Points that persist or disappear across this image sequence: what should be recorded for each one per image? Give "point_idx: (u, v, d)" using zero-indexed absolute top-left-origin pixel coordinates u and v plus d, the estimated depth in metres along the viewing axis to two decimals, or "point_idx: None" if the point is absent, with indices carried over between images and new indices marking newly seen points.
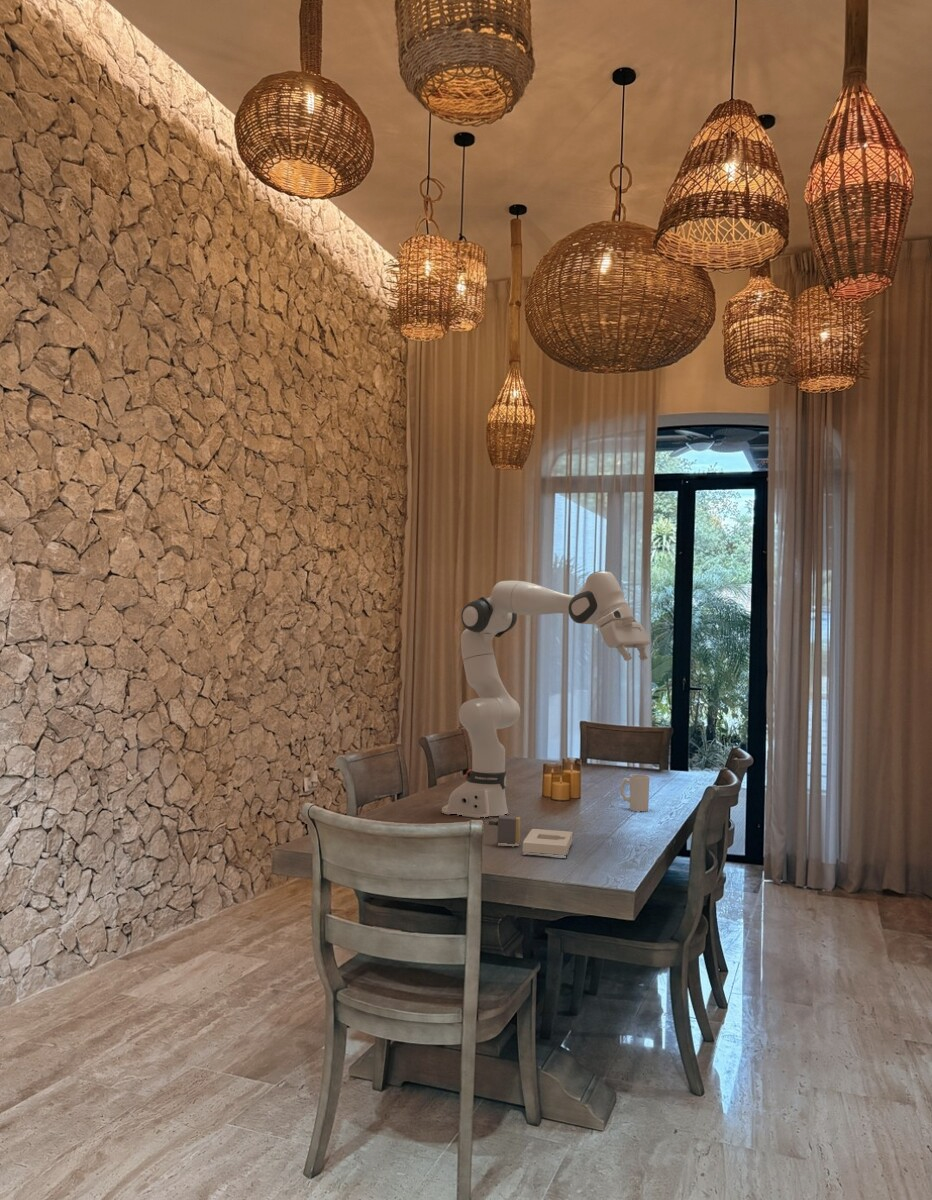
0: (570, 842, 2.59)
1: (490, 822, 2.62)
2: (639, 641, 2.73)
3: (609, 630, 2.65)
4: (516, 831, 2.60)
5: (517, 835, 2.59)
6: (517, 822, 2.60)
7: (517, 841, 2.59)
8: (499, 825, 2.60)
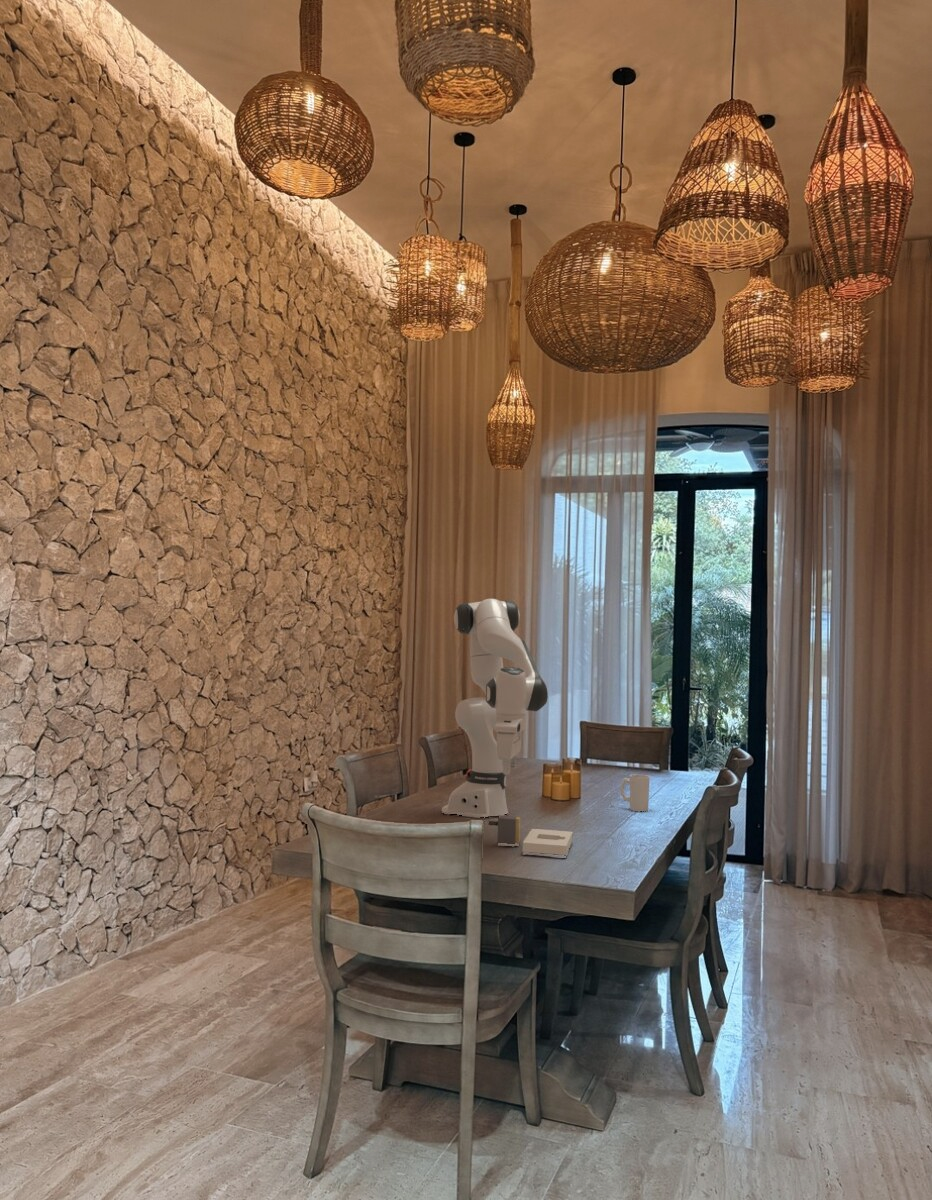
0: (570, 842, 2.59)
1: (490, 822, 2.62)
2: (517, 752, 2.64)
3: (506, 744, 2.52)
4: (516, 831, 2.60)
5: (517, 835, 2.59)
6: (517, 822, 2.60)
7: (517, 841, 2.59)
8: (499, 825, 2.60)
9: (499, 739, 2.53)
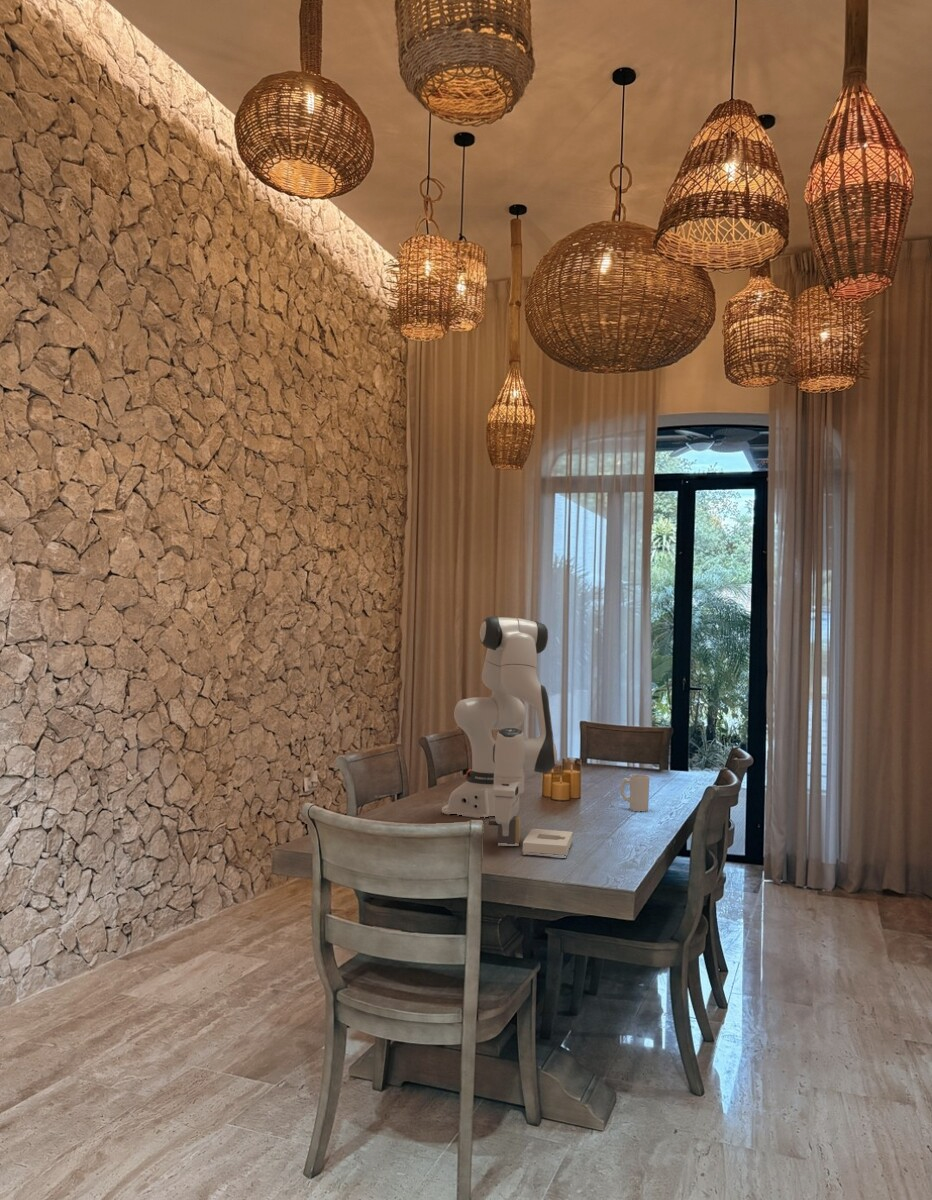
0: (570, 842, 2.59)
1: (490, 822, 2.62)
2: (515, 813, 2.64)
3: (504, 808, 2.52)
4: (516, 831, 2.60)
5: (517, 835, 2.59)
6: (517, 822, 2.60)
7: (517, 841, 2.59)
8: (499, 825, 2.60)
9: (497, 803, 2.52)
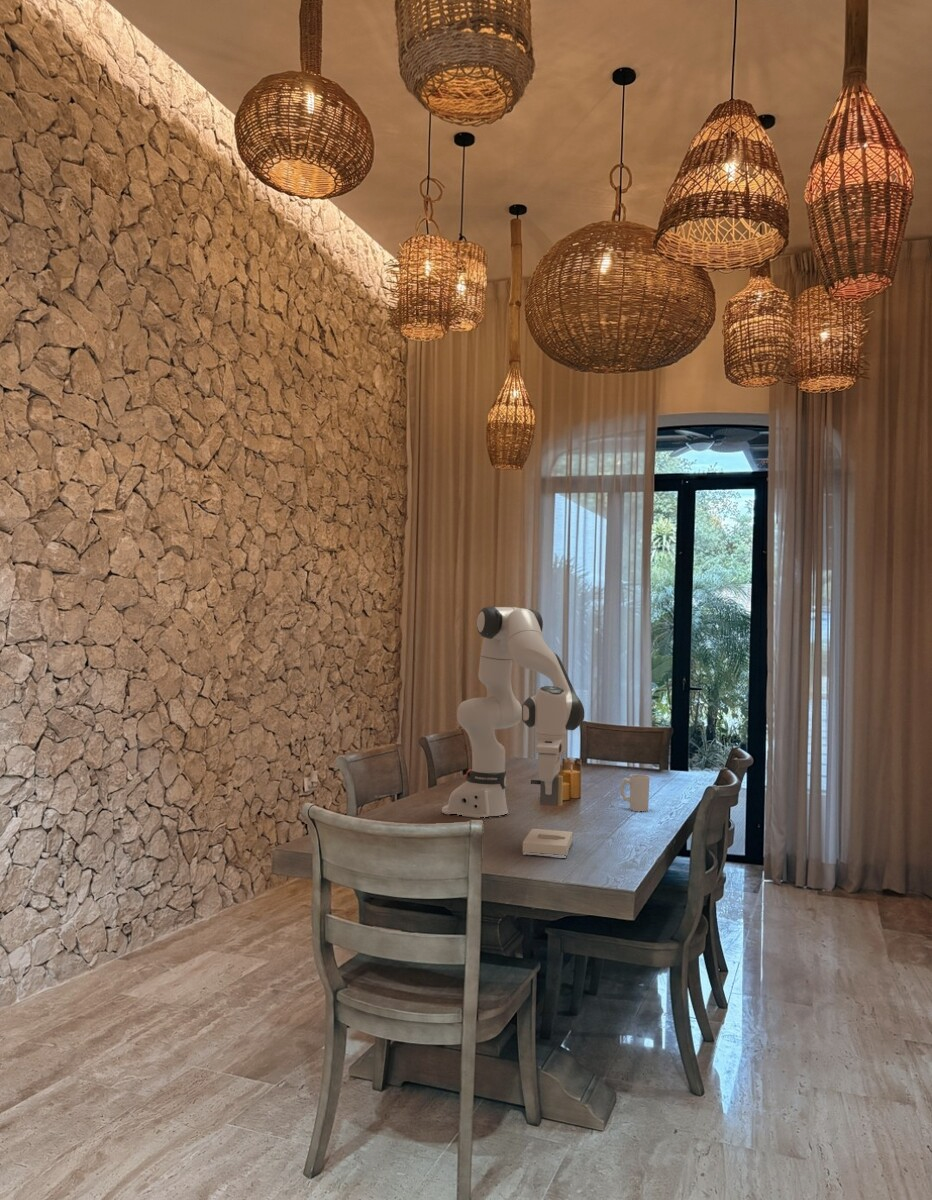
0: (570, 842, 2.59)
1: (532, 781, 2.59)
2: (557, 772, 2.61)
3: (548, 765, 2.48)
4: (559, 789, 2.56)
5: (560, 793, 2.56)
6: (560, 780, 2.56)
7: (560, 800, 2.56)
8: (542, 783, 2.56)
9: (541, 760, 2.49)
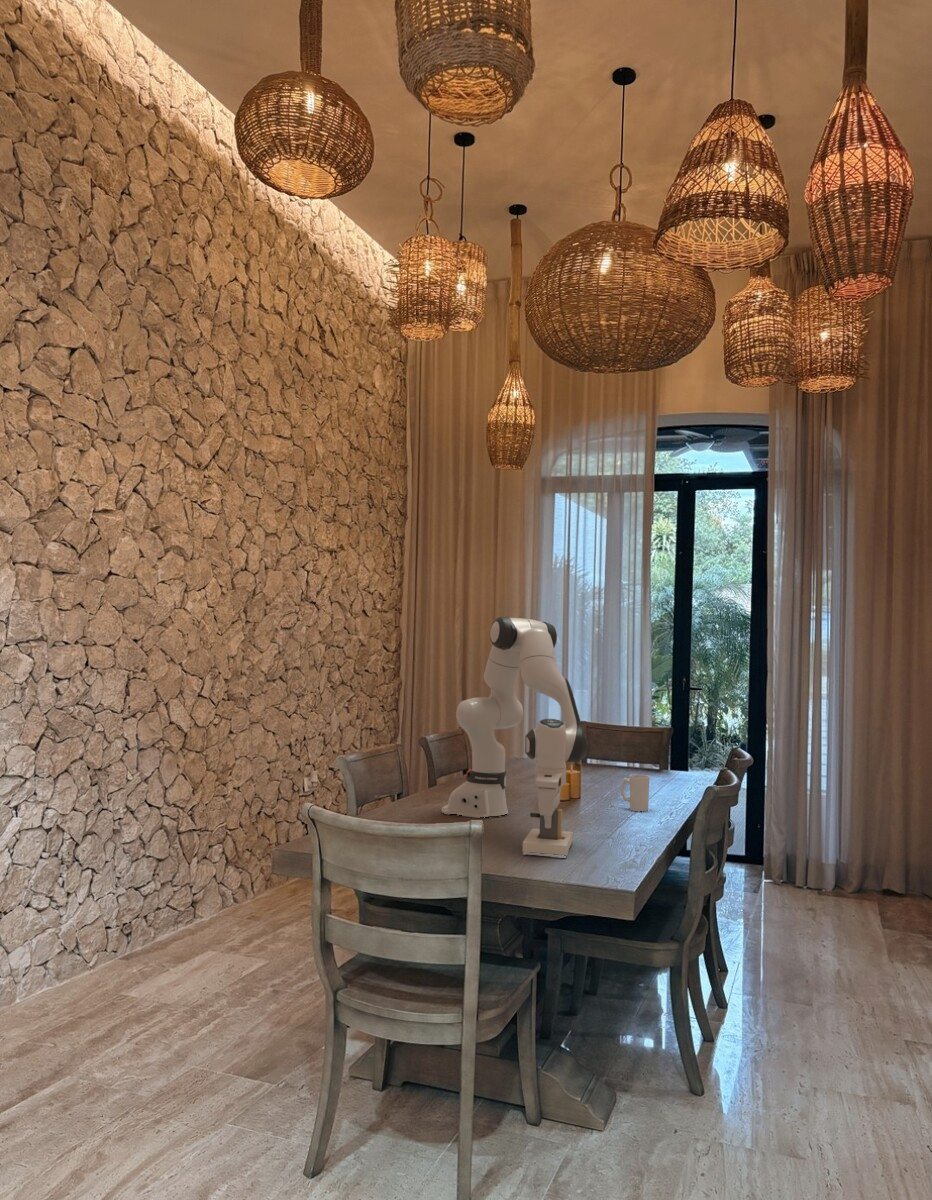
0: (570, 842, 2.59)
1: (532, 814, 2.58)
2: (557, 805, 2.60)
3: (548, 799, 2.48)
4: (558, 823, 2.56)
5: (559, 827, 2.56)
6: (559, 814, 2.56)
7: (559, 833, 2.56)
8: (541, 817, 2.56)
9: (540, 794, 2.49)
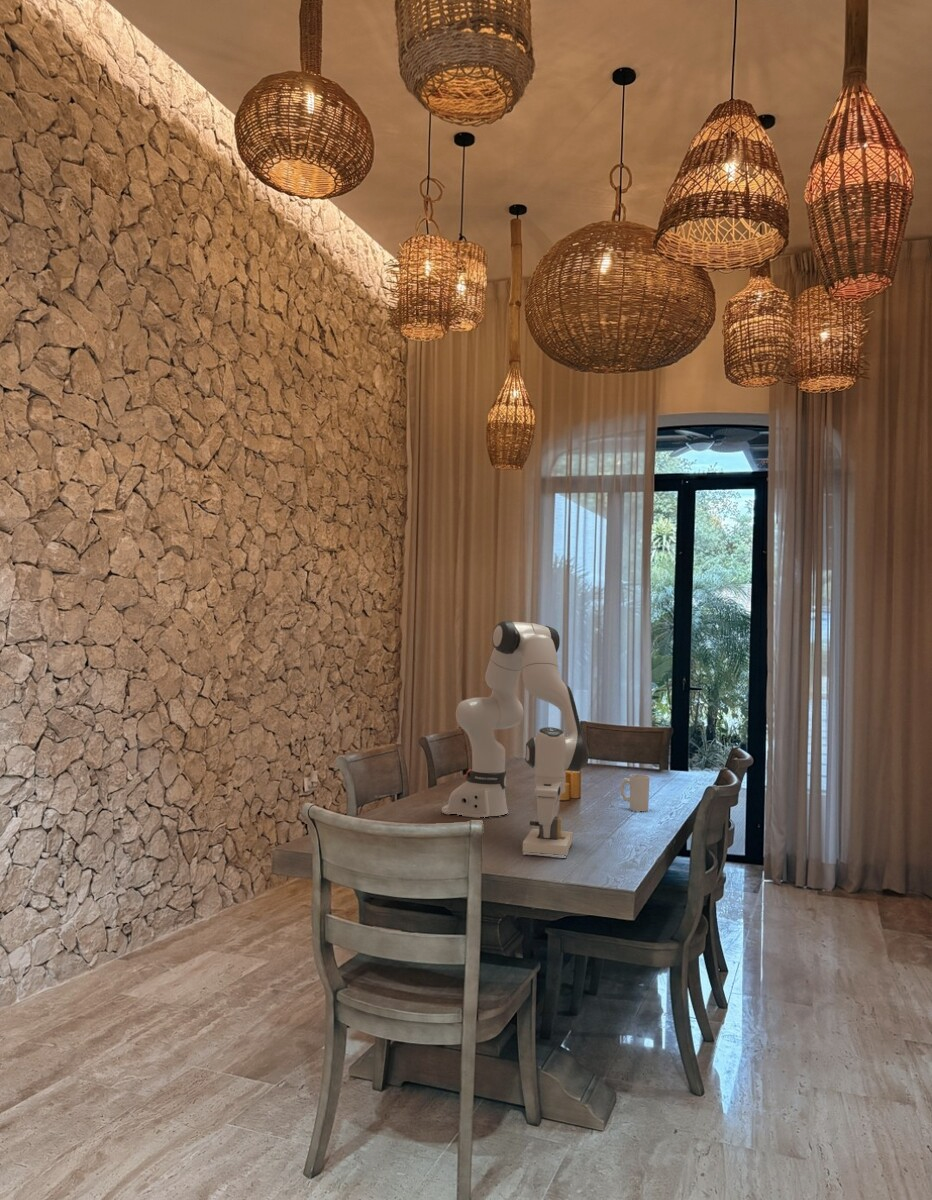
0: (570, 842, 2.59)
1: (531, 822, 2.58)
2: (556, 814, 2.60)
3: (547, 809, 2.48)
4: (558, 831, 2.56)
5: (559, 835, 2.56)
6: (559, 822, 2.56)
7: None
8: (541, 825, 2.56)
9: (539, 803, 2.49)
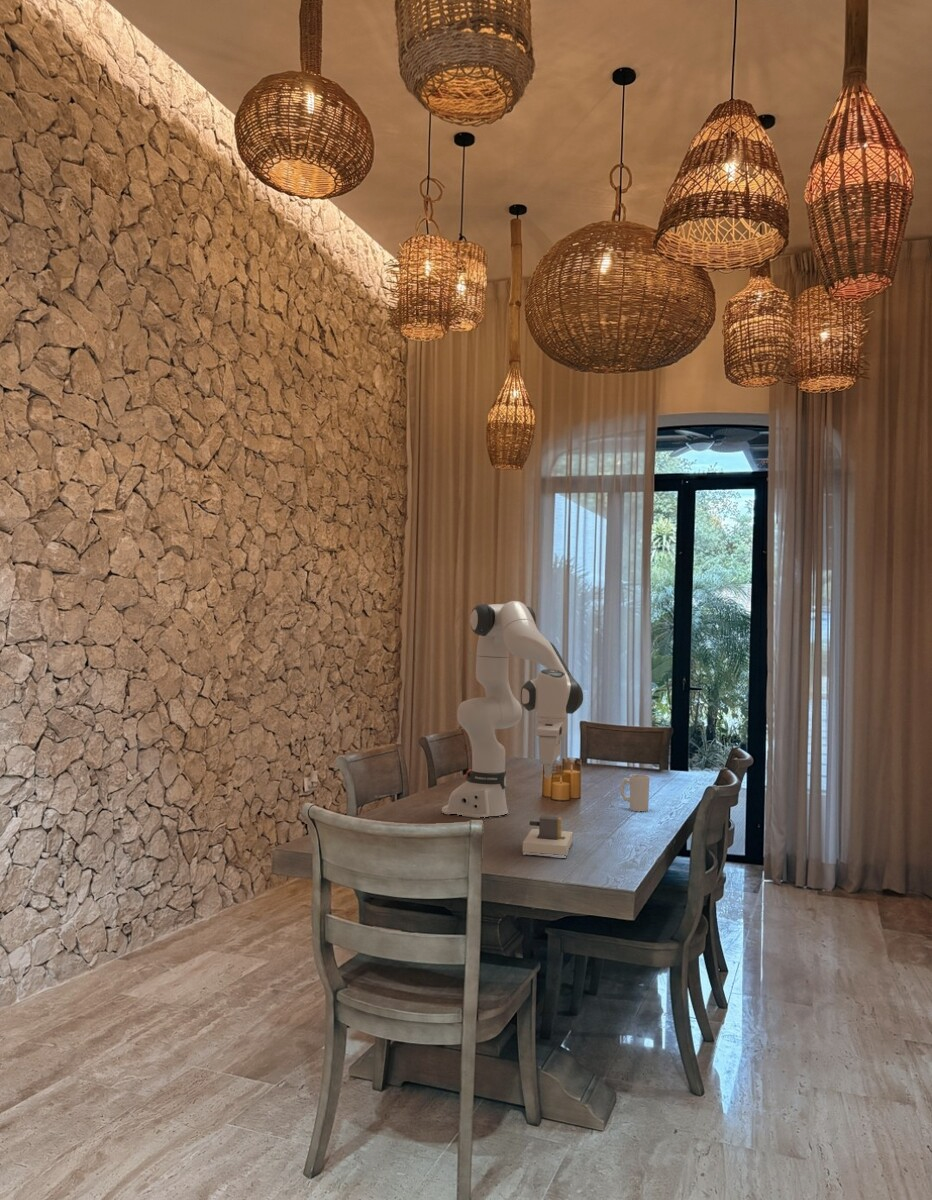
0: (570, 842, 2.59)
1: (531, 822, 2.58)
2: (557, 756, 2.61)
3: (549, 747, 2.49)
4: (558, 831, 2.56)
5: (559, 835, 2.56)
6: (559, 822, 2.56)
7: None
8: (541, 825, 2.56)
9: (541, 743, 2.49)
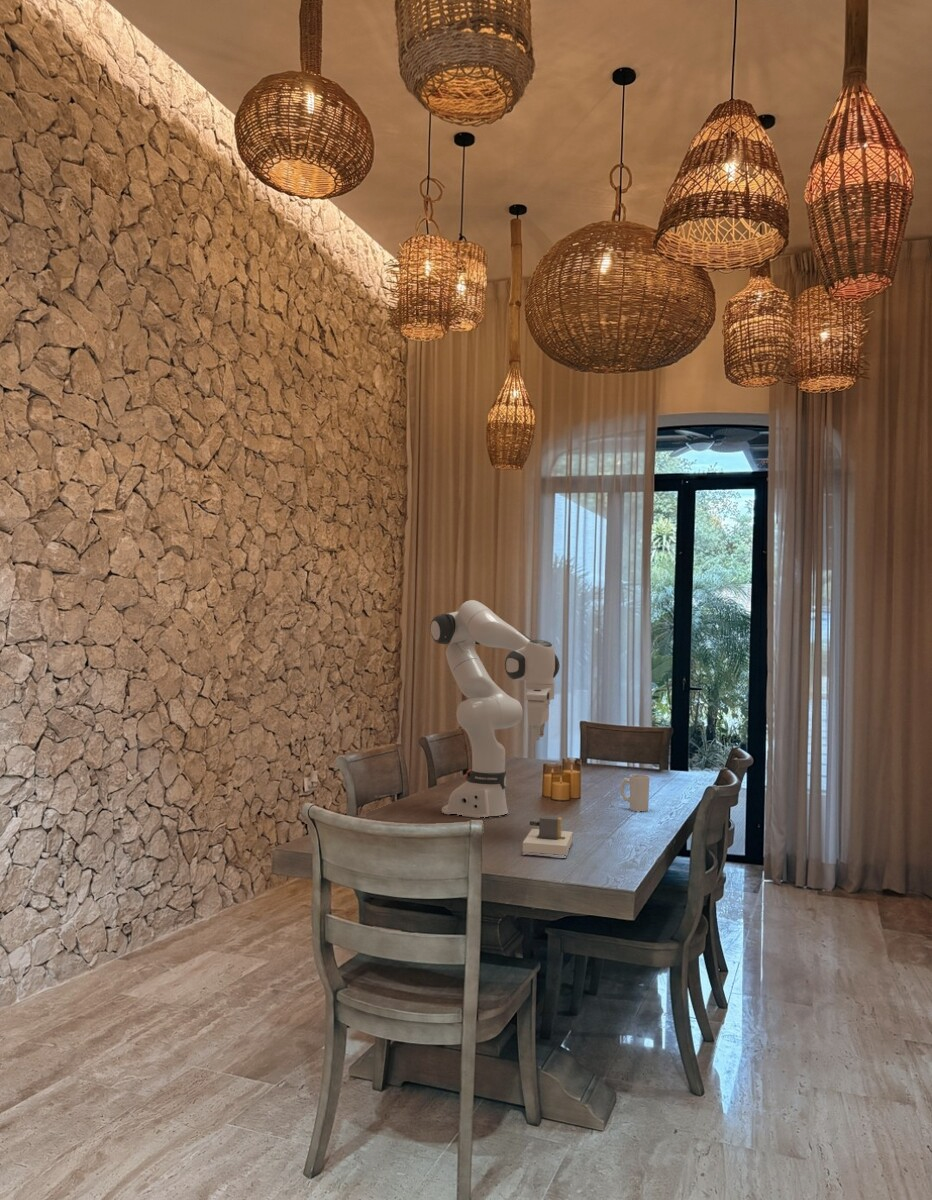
0: (570, 842, 2.59)
1: (531, 822, 2.58)
2: (545, 720, 2.80)
3: (537, 711, 2.68)
4: (558, 831, 2.56)
5: (559, 835, 2.56)
6: (559, 822, 2.56)
7: None
8: (541, 825, 2.56)
9: (530, 706, 2.69)
